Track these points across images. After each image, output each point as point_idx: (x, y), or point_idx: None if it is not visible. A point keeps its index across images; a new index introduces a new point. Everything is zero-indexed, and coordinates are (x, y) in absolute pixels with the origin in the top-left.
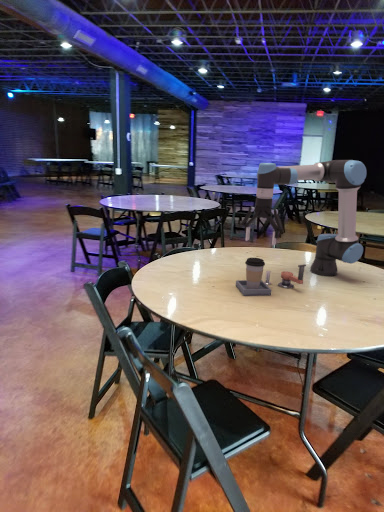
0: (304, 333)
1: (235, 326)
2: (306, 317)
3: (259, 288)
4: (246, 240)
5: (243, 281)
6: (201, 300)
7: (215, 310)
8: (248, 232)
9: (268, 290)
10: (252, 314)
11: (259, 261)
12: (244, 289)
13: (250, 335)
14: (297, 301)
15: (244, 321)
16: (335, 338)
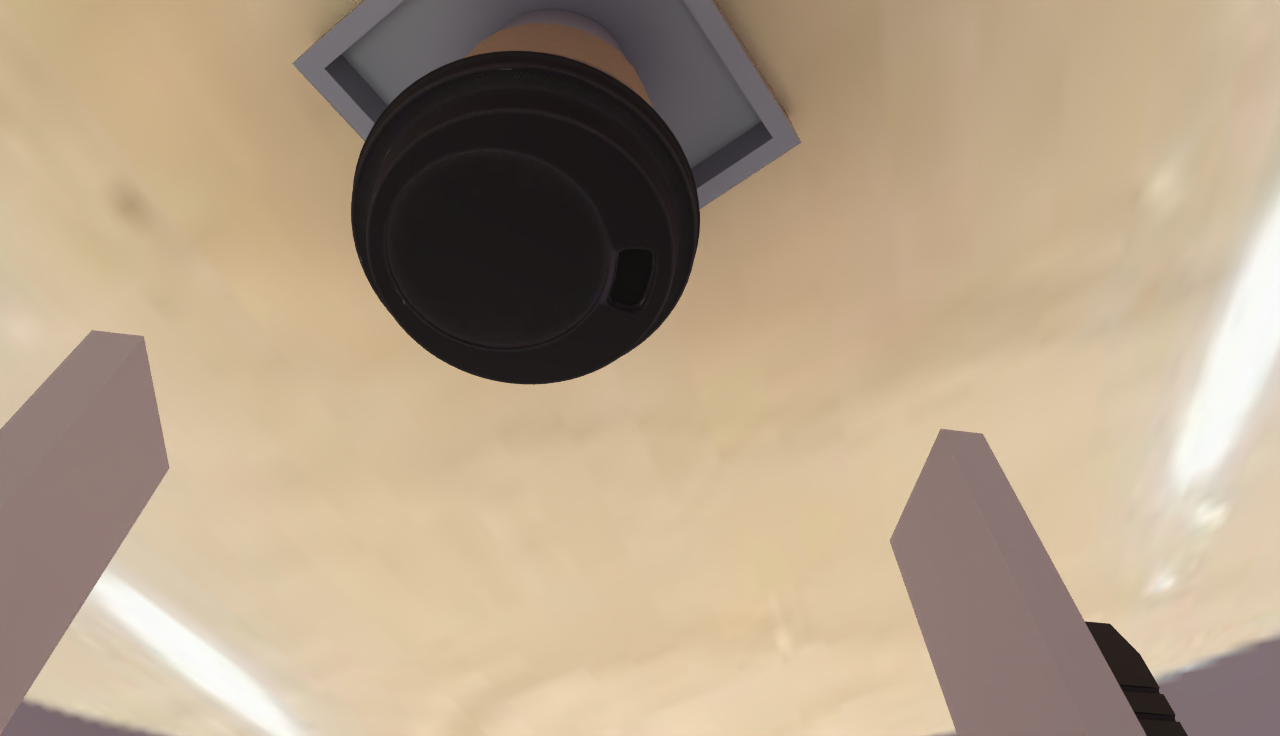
0: None
1: (674, 693)
2: (1113, 418)
3: (623, 18)
4: (154, 473)
5: (383, 17)
6: (292, 527)
7: (476, 603)
8: (21, 608)
9: (765, 160)
10: (722, 546)
11: (621, 318)
12: None
13: (774, 725)
14: (1079, 129)
15: (702, 636)
16: (1244, 581)
